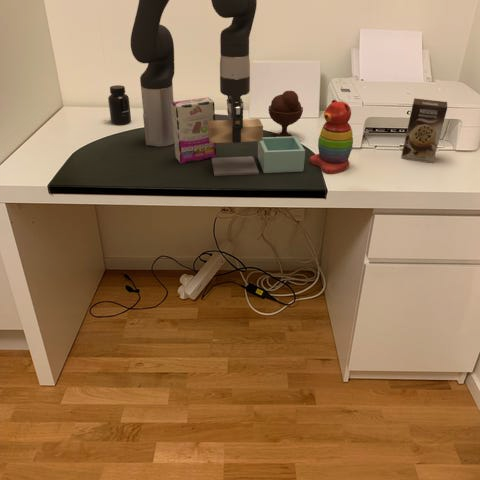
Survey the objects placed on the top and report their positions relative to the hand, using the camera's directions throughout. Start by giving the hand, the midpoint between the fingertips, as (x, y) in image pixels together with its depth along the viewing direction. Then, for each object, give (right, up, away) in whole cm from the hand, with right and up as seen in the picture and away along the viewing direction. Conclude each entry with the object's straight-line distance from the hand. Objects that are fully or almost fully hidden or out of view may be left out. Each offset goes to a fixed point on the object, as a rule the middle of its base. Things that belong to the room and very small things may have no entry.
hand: (235, 137), depth 126 cm
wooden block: (0, 0, 0) cm, 0 cm away
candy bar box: (-12, -4, +10) cm, 16 cm away
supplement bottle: (-40, +13, +35) cm, 55 cm away
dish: (+13, -6, +6) cm, 15 cm away
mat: (0, -7, +4) cm, 8 cm away
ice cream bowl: (+16, +5, +25) cm, 29 cm away
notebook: (-11, +13, +37) cm, 41 cm away
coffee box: (+54, -3, +12) cm, 55 cm away
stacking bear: (+27, -6, +6) cm, 29 cm away
